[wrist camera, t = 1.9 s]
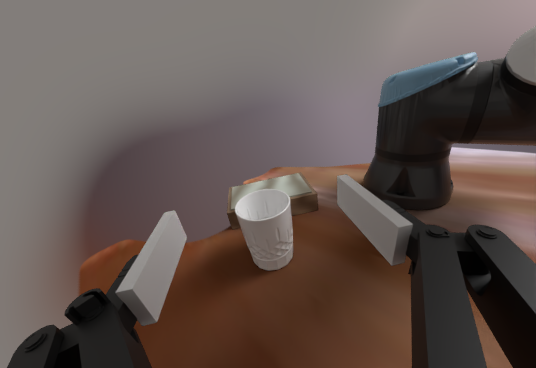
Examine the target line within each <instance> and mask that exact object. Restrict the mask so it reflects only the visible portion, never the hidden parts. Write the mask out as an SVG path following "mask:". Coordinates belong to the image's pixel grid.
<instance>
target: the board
mask: <svg viewBox="0 0 536 368" xmlns="http://www.w3.org/2000/svg"><path fill="white" fill-rule="evenodd" d="M263 189H276V190H281V191H283V192H285V193H286V194H288V196H289V197H290V203H291V216H294V215H298V214H303V213H307V212H312V211H316V210H318V199H317V193H316V191H315V190H314V189H313V188H312V186H311V185H310V184H309V182H308V181H307V180H306V179H305V177H304V176H303V175H302V173H296V174H291V175H287V176H282V177H277V178H273V179H268V180H263V181H259V182H254V183H249V184H245V185H240V186H236V187H231V188H229V198H228V209H227V215H228V218H229V221H230V224H231V227H232V229H237V228H241V227H240V224H239V222H238V219H237V216H236V213H235V206H236V204H237V202H238V201H239V200H240V199H241V198H242V197H244V196H245V195H247V194H249V193H252V192H254V191H258V190H263Z"/></svg>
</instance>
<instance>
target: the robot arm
mask: <svg viewBox="0 0 536 368" xmlns="http://www.w3.org/2000/svg"><path fill="white" fill-rule="evenodd" d="M477 60H478V57H477V54H476V53H468V54H464V55H460V56H456V57H453V58H448V59H445V60H441V61H437V62H434V63H430V64H426V65H423V66H419V67H416V68H413V69H409V70H406V71H403V72H400V73H396V74H394V75H391V76H390V77H388V78H387V79H386V80H385V81H384V83H383V85H382V90H381V96H380V103H379V104H378V107H379V116H378V126H377V138H376V148H375V156H374V158H373V160H372V162H371V164H370V166H369V169H368V171H367V173H366V175H365V177H364V184H363V186H361V185H360V184H359V183H357V182H356V181H355V180H353V179H352V178H351V177H349V176H348V175H347V174H345V175H341V176H337V205H338V206H339V207H340V208H341V209H342V210H343V212H344V213H345V214H346V215H347V216H348V217H349V218H350V219H351V221H352V222H353V223H354V224H355V225H356V226H357V227H358V228H359V230H360V231H361V232H362V233H363V234H364V235H365V236H366V237H367V239H368V240H369V241H370V242H371V243H372V244H373V245H374V246H375V248H376V249H377V250H378V251H379V252H380V253H381V254H382V255H383V257H384V258H385V259H386V260H387V261H388V262H389V263H390V264H391V266H393V265H397V264H401V263H404V262H405V258H406V255H407V256H408V257H409V258H410V259H411V260H412V261H411V265H410V269H409V273H408V274H411V323H412V368H487V366H486V362H485V358H484V355H483V351H482V347H481V343H480V339H479V335H478V331H477V328H476V324H475V320H474V316H473V312H472V308H471V304H470V301H469V297H468V293H467V291H468V292H469V294H470V296H471V297H472V299H473V301H474V303H475V304H476V306H477V308H478V309H479V311H480V313H481V314H482V316H483V318H484V319H485V321H486V323H487V325H488V326H489V328H490V330H491V331H492V333H493V335H494V336H495V338H496V340H497V342H498V343H499V345H500V347H501V348H502V350H503V352H504V353H505V355H506V357H507V358H508V360H509V362H510V364H511V365H512V367H513V368H536V264H535V263H534V262H533V261H532V260H531V259H530V258H529V257H528V256H527V255H526V254H525V253H524V252H523V251H522V250H521V249H520V248H519V247H517V246H516V245H515V244H514V243H513V242H512V241H511V240H510V239H509V238H508V237H507V236H506V235H505V234H504V233H502V232H501V231H499V230H497V229H494V228H492V227H489V226H484V225H472V226H469V227H468V229H467V232H466V233H450V232H449V231H448V230H446V229H444V228H442V227H439V226H435V225H425V224H424V223H423V222H421V221H420V220H418V219H417V218H415V217H414V216H413V215H411V214H410V213H408V212H406V211H405V210H404V209H415V210H421V209H432V208H436V207H440V206H442V205H444V204H446V203H447V202H448V201H449V200H450V197H451V194H452V191H453V183H452V180H451V176H450V166H449V155H450V151H451V147H452V144H454V143H467V144H468V143H471V144H504V145H535V146H536V26H535V27H534V28H532V29H530V30H529V31H527V32H526V33H524V34H523V35H522V36H521V37H519V39H517V40H516V41H515V42H514V43H513V45H512V46H511V48H510V49H509V51H508V53H507V55H506V57H505V58H504V59H497V60H491V61H486V62H479V63H476V62H477ZM186 239H187V236H186V234H185V232H184V230H183V227H182V225H181V223H180V221H179V219H178V217H177V214H176V212H175V210H174V211H169V212H165V213H164V215H163V216H162V218H161V220H160V221H159V223H158V224H157V226H156V228H155V229H154V231H153V232H152V234H151V236H150V237H149V239H148V240H147V242H146V244H145V245H144V247H143V249H142V250H141V252H140V253H139V255H135V256H133V257H132V258H131V259H130V260H129V261H128V262H127V263H126V265H125V266H124V268H123V269H122V272H120V274H119V275H118V278H116V280H115V281H114V283H113V284H112V286H111V287H110V289H109V290H108V292H107V294H106V295H105V294H104V293H103V292H102V291H101V290H100V289H92V290H89V291H87V292H85V293H83V294H82V295H80V296H79V297H77V298H76V299H75V300H74V301H73V302H72V303H71V304H70V305H69V306H68V308H67V309H66V311H65V316H66V317H67V318H68V319H69V320H70V321H72V322H73V324H71V325H68V326H66V327H64V328H62V329H58V328H57V327H56V326H54V325H49V326H46V327H43V328H41V329H40V330H38V331H36V332H35V333H33V334H32V335H30V336H29V337H28V338H27V339H26V340H25V341H24V342H23V343H22V344H21V345H20V346H19V347H18V348H17V350H16V351H15V353H14V354H13V356H12V358H11V361H10V363H9V365H8V367H7V368H152V367H151V365H150V362H149V360H148V358H147V355H146V353H145V350H144V348H143V346H142V343H141V341H140V339H139V336H138V334H137V332H136V330H135V329H134V328H133V327H134V325H135V323H136V321H137V320H138V321H139V323H140V324H141V325H142V326H144V325H148V324H152V323H156V322H157V321H158V318H159V315H160V312H161V310H162V307H163V304H164V301H165V298H166V295H167V293H168V290H169V287H170V284H171V281H172V279H173V276H174V273H175V270H176V267H177V264H178V262H179V259H180V256H181V253H182V250H183V247H184V245H185V242H186Z"/></svg>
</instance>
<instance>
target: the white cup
mask: <svg viewBox="0 0 536 368" xmlns="http://www.w3.org/2000/svg"><path fill="white" fill-rule="evenodd" d="M235 213H236V216H237V219H238V222H239V224H240V227H241V230H242V233H243V236H244V238H245V241H246V244H247V246H248V248H249V250H250V252H251V255H252V258H253V261H254V263H255V264H256V265H257V266H258V267H259V268H261V269H265V270H268V271H270V270H278V269H280V268H282V267H284V266H286V265H287V264H288V263H289V262H290V260H291V259H292V257H293V230H292V216H291V203H290V197H289V196H288V194H286V193H285V192H283V191H281V190H276V189H263V190H258V191H254V192H252V193H249V194H247V195H245V196H244V197H242V198H241V199H240V200H239V201H238V202H237V204H236V206H235Z"/></svg>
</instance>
